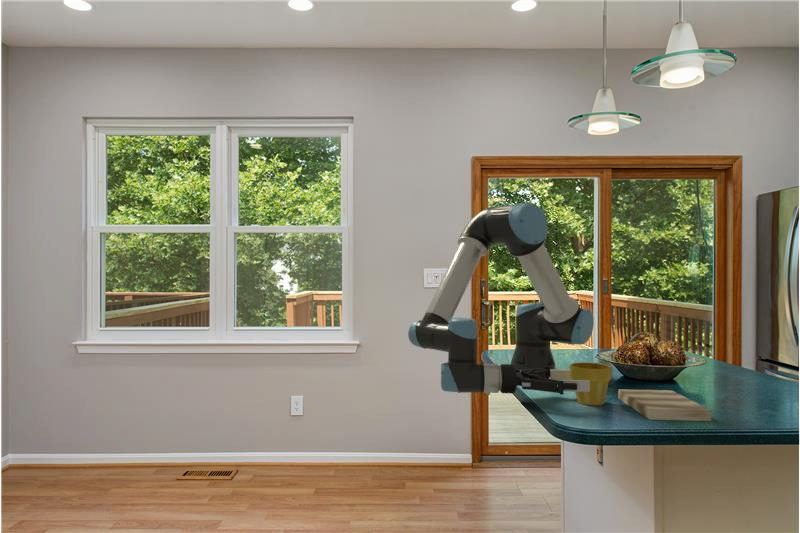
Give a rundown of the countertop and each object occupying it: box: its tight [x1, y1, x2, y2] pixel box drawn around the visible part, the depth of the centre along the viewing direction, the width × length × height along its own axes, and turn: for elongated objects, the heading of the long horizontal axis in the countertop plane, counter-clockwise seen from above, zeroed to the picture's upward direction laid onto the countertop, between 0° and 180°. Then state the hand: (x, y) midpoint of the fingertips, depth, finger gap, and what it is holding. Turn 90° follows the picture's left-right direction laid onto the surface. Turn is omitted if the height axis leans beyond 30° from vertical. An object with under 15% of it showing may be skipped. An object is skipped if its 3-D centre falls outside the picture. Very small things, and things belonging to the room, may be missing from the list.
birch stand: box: [617, 388, 712, 422], centre depth 133 cm, size 20×14×2 cm
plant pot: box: [569, 361, 613, 406], centre depth 138 cm, size 10×10×10 cm
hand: (581, 380), depth 138 cm, fingers open, 13 cm apart
